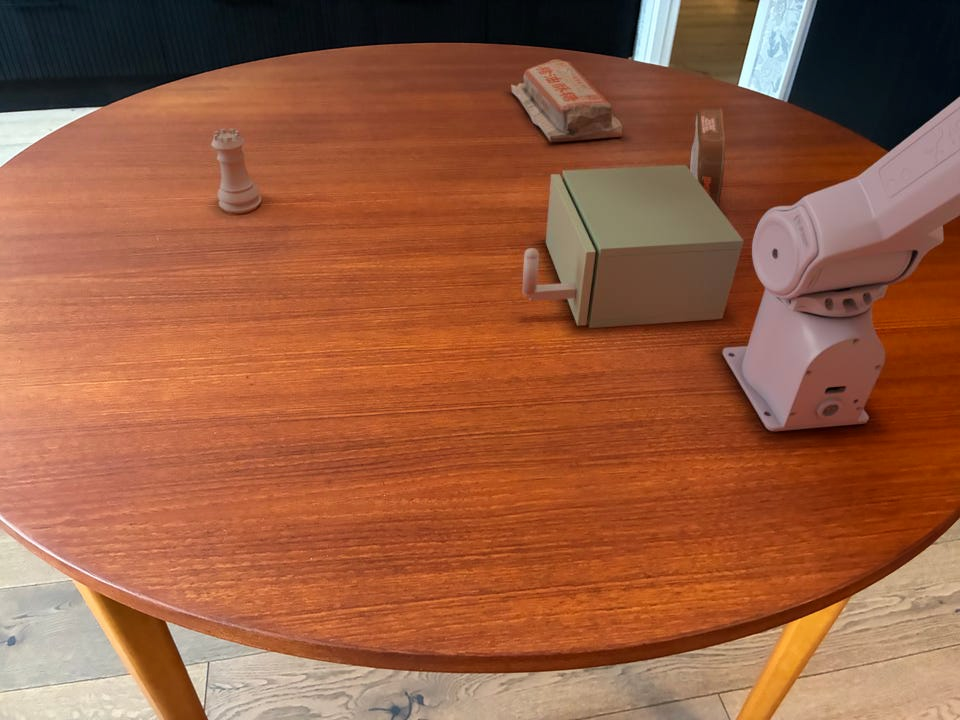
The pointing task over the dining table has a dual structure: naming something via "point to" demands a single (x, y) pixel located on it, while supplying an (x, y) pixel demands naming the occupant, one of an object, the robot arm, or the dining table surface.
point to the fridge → (653, 245)
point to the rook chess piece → (234, 174)
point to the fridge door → (563, 256)
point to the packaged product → (565, 103)
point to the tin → (709, 151)
